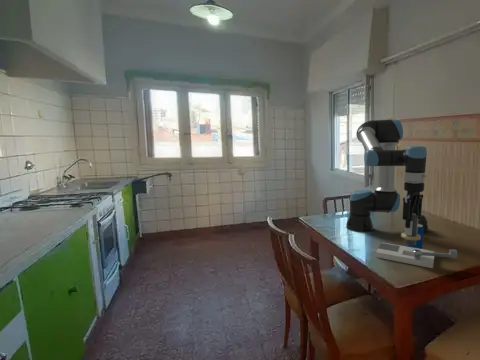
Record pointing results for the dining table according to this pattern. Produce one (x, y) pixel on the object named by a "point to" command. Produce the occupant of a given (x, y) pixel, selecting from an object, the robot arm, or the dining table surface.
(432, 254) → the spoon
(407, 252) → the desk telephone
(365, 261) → the dining table surface
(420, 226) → the beverage can
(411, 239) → the grey post on base
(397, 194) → the robot arm
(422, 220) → the rock
